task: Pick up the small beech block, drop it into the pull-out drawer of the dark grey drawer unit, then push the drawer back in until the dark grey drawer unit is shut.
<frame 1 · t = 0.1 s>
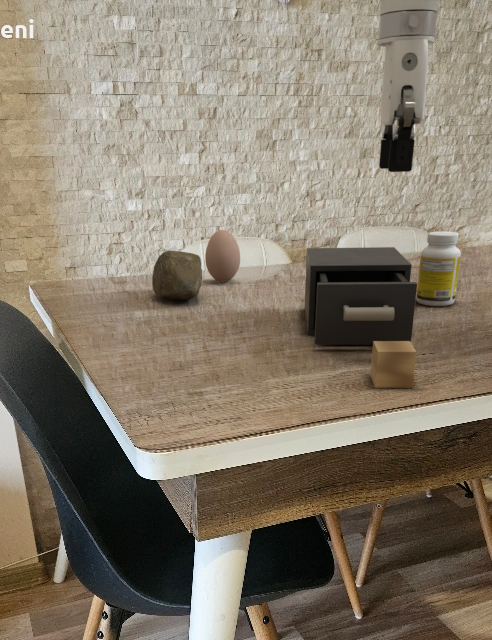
hand: (394, 169, 98), 21 cm above the table, tool pointing down, fingers open, 9 cm apart
block: (390, 381, 77), on the table
egg: (223, 283, 131), on the table
pill bottle: (434, 304, 111), on the table
dark grey drawer unit: (350, 321, 102), on the table
pull-out drawer: (360, 305, 90), point 5 cm above the table, slide at 7.0 cm
stone: (178, 298, 119), on the table
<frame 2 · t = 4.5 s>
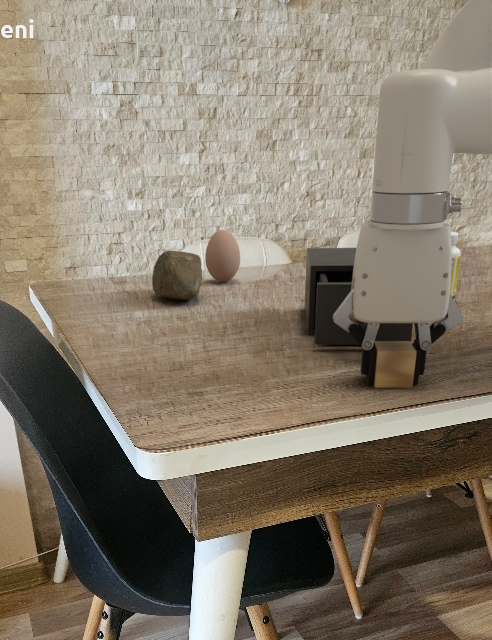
hand: (391, 378, 77), 0 cm above the table, tool pointing down, fingers closed on block, 4 cm apart
block: (390, 381, 77), on the table, touching gripper
everything else where it was.
when the fingers open (9 cm above the table, at t = 9.3 s): block drops 7 cm, resting on pull-out drawer.
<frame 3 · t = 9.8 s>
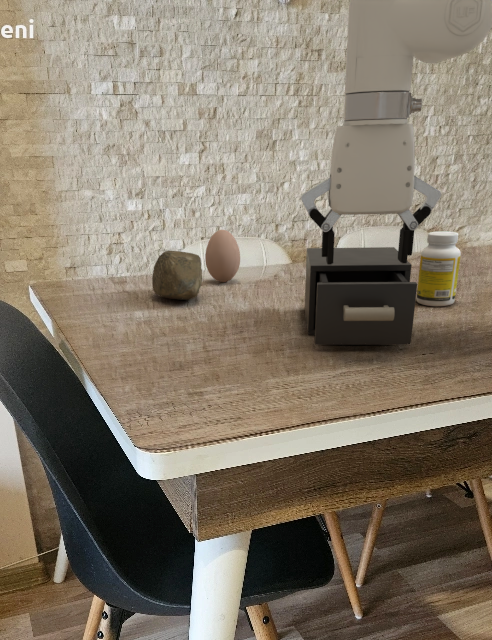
hand: (365, 262, 87), 11 cm above the table, tool pointing down, fingers open, 9 cm apart
block: (359, 327, 91), point 2 cm above the table, touching pull-out drawer
pull-out drawer: (360, 305, 90), point 5 cm above the table, slide at 7.0 cm, touching block
everything else where it was.
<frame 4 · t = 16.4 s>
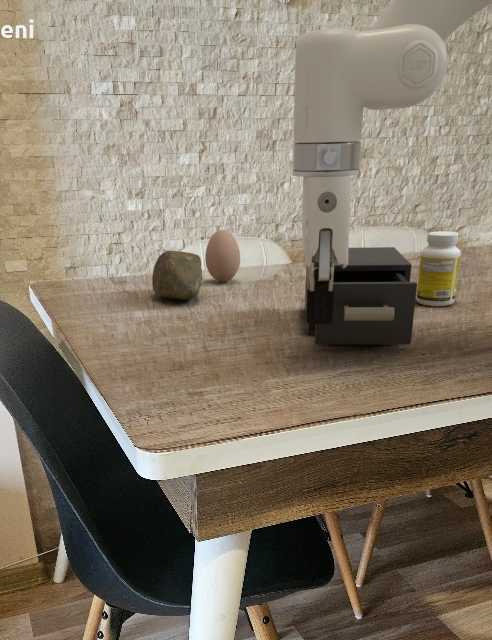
hand: (318, 322, 84), 5 cm above the table, tool pointing down, fingers closed
pull-out drawer: (360, 305, 90), point 5 cm above the table, slide at 6.9 cm, touching block, gripper
everything else where it was.
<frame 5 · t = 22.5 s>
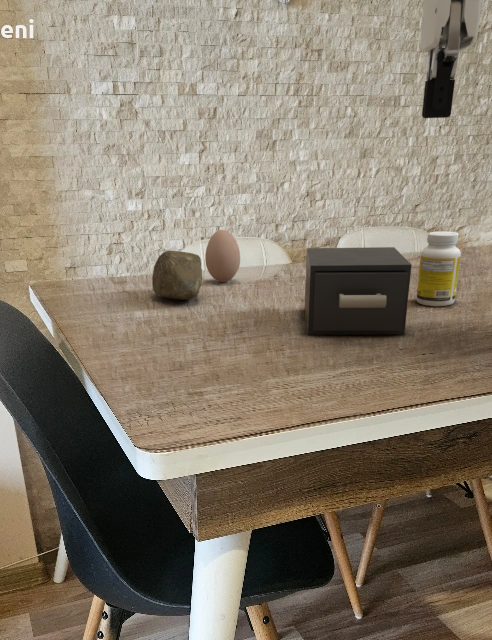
hand: (435, 117, 82), 27 cm above the table, tool pointing down, fingers closed
block: (354, 315, 97), point 2 cm above the table, touching pull-out drawer
pull-out drawer: (355, 294, 96), point 5 cm above the table, slide at 0.0 cm, touching dark grey drawer unit, block
everything else where it was.
at the end: block inside the target area in the dark grey drawer unit (4.5 cm from its centre), point 2.0 cm above the dark grey drawer unit's base; pull-out drawer slide at 0.0 cm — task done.
